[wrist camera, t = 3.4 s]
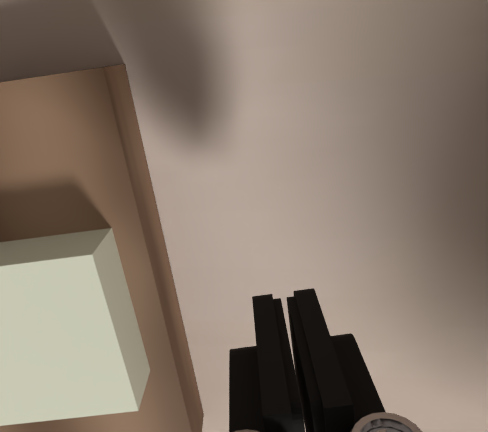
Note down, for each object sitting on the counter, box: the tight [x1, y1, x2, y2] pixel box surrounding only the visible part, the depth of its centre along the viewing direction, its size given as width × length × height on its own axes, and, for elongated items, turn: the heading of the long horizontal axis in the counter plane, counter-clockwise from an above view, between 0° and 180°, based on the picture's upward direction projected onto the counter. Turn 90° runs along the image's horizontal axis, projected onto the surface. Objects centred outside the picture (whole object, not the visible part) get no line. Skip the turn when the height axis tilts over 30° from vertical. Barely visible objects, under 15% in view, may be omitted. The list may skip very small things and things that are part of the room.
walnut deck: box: [0, 64, 204, 432], centre depth 17 cm, size 11×16×2 cm
